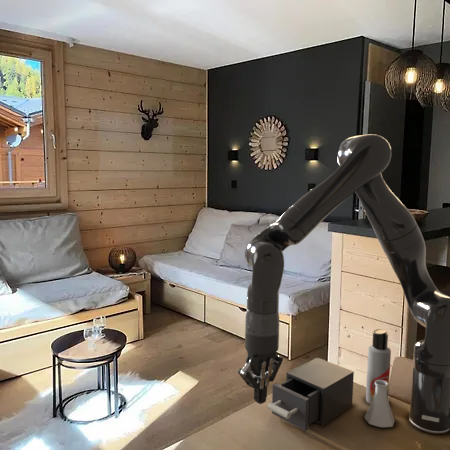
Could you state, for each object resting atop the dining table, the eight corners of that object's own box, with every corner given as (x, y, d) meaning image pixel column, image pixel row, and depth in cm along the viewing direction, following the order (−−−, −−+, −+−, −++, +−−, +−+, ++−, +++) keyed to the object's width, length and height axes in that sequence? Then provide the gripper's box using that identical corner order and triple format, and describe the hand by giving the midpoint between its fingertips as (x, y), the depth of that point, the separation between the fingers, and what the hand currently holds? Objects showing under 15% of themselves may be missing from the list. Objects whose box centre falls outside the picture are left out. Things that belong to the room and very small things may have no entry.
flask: (397, 430, 109) (399, 391, 108) (365, 426, 110) (367, 388, 109) (392, 414, 116) (394, 377, 115) (362, 410, 117) (364, 374, 116)
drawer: (293, 438, 104) (294, 407, 103) (260, 419, 112) (261, 390, 110) (335, 411, 115) (336, 382, 114) (302, 396, 123) (303, 369, 122)
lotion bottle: (388, 408, 119) (392, 335, 116) (365, 405, 120) (369, 333, 117) (387, 397, 124) (391, 328, 121) (365, 394, 126) (369, 325, 123)
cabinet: (322, 425, 111) (323, 388, 109) (285, 406, 119) (286, 372, 118) (352, 405, 120) (353, 371, 119) (316, 389, 128) (317, 357, 127)
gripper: (254, 341, 93) (252, 419, 95) (294, 326, 102) (291, 398, 104) (228, 331, 98) (227, 405, 101) (269, 317, 107) (267, 386, 110)
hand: (260, 401), depth 103 cm, fingers closed
